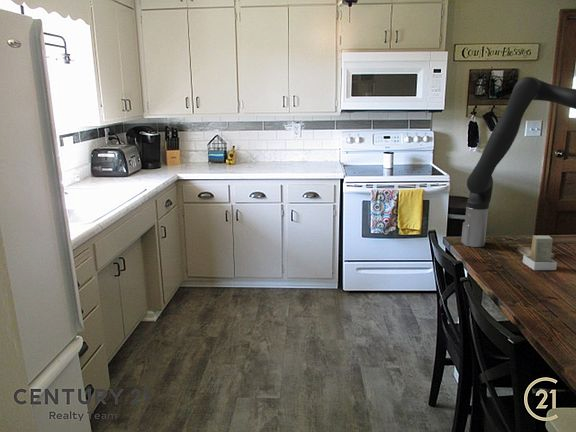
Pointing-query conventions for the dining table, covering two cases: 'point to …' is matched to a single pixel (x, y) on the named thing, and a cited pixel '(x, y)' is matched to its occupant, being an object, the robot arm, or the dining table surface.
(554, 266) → the gray square frame
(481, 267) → the dining table surface
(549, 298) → the dining table surface
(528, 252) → the birch board
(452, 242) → the dining table surface
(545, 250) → the skincare box
